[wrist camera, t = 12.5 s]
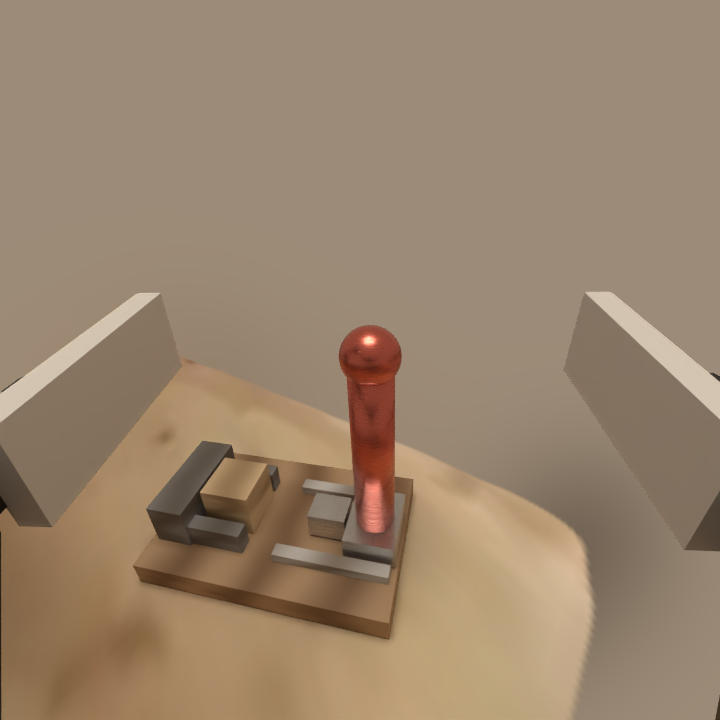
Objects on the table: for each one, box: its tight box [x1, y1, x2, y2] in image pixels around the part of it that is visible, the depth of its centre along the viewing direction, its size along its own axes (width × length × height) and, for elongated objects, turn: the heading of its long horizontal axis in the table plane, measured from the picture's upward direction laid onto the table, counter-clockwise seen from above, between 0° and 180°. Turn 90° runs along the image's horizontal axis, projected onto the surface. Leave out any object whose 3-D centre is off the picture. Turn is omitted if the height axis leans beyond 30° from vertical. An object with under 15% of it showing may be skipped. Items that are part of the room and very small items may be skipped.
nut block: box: [200, 458, 274, 534], centre depth 35 cm, size 4×4×4 cm
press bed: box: [133, 441, 413, 639], centre depth 35 cm, size 20×13×6 cm, turn 77°
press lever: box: [307, 325, 405, 567], centre depth 29 cm, size 7×5×18 cm
